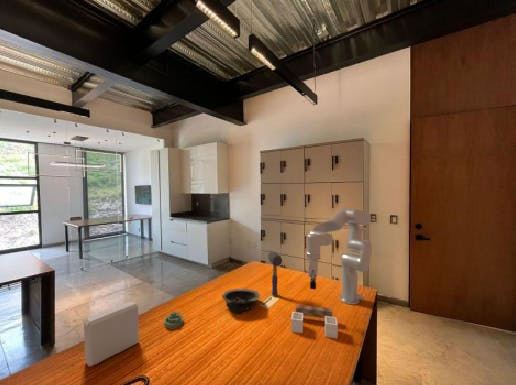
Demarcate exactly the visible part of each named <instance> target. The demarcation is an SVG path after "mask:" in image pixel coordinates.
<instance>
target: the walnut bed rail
mask: <svg viewBox="0 0 516 385" xmlns="http://www.w3.org/2000/svg"><path fill="white" fill-rule="evenodd" d="M295 312H298V313H303V317H304V316H305V317H314V318H318V319H319V318H320V319H325V316H330V317H333V309H332V308H328V307H327V308H326V307H321V306H318V307H317V306H311V305H303V304H296V306H295Z"/></svg>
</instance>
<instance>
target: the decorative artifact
mask: <svg viewBox="0 0 516 385" xmlns="http://www.w3.org/2000/svg"><path fill="white" fill-rule="evenodd" d="M163 324H164V325H163V326H165V327H164V328H165V329H167V330H174V328H175V329H177V327H178V328H180V327H182V325H183V324H184V316H183V315H181V314H180V312H177V311H173V312H171V313H170V314H168V315H166V317H165V319H164V321H163ZM179 326H180V327H179Z"/></svg>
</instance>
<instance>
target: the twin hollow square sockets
mask: <svg viewBox="0 0 516 385" xmlns="http://www.w3.org/2000/svg"><path fill="white" fill-rule="evenodd" d="M337 318H338V317H337V316H332V317H330V316H325V318H324V333H325V334H324V335H325V337H326V338H332V339H336V340H337V339H338V338H339V336H338V335H339V324H338V319H337ZM303 331H304V315H303V313H298V312H296V311H292V312H291V317H290V332H292V333H296V334H303Z"/></svg>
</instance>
